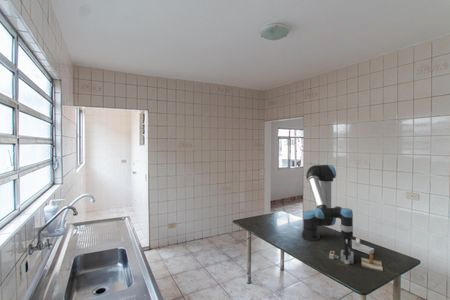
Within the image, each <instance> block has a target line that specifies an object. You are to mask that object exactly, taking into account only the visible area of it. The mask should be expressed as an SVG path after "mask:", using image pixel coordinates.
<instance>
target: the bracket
mask: <svg viewBox="0 0 450 300" xmlns="http://www.w3.org/2000/svg"><path fill="white" fill-rule="evenodd" d="M351 248H352V249H354V250H357V251H359V252H362V253H365V254H367V255H369V254H373V255H374V254H375V248H374V247H370V246H368V245H365V244H362V243H361V238H359V237H356V238H355V239H351Z"/></svg>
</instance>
